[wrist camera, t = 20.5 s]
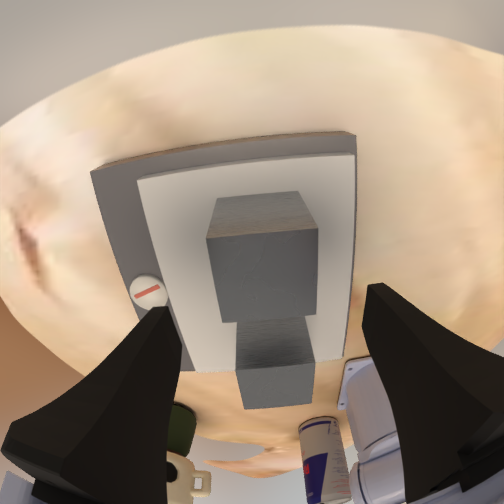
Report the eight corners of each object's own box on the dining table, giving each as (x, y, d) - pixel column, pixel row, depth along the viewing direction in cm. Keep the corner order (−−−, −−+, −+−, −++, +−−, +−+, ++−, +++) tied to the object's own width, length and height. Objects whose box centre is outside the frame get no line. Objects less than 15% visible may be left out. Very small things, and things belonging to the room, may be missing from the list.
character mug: (208, 397, 30) (200, 505, 18) (221, 425, 33) (217, 516, 21) (122, 394, 30) (97, 487, 19) (143, 423, 33) (127, 504, 22)
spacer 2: (301, 349, 22) (311, 403, 17) (244, 355, 22) (244, 409, 17) (302, 306, 20) (315, 362, 15) (237, 312, 20) (235, 370, 15)
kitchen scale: (338, 340, 25) (346, 364, 23) (167, 355, 26) (161, 379, 23) (345, 131, 17) (362, 137, 14) (103, 164, 17) (82, 176, 15)
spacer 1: (300, 260, 18) (316, 314, 13) (227, 267, 18) (222, 323, 14) (297, 190, 16) (318, 228, 11) (217, 198, 16) (205, 238, 11)
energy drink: (290, 426, 33) (298, 507, 23) (326, 411, 32) (342, 496, 21) (310, 436, 35) (321, 509, 25) (344, 423, 34) (360, 498, 23)
